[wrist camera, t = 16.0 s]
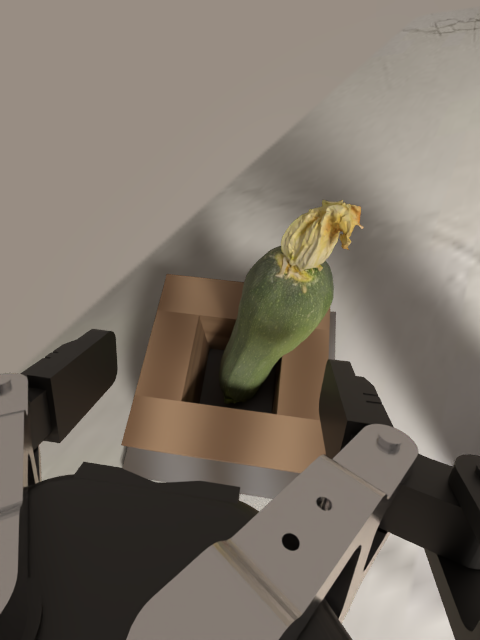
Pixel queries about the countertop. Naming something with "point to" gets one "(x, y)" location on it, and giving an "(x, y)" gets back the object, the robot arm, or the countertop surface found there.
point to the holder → (222, 398)
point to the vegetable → (284, 298)
